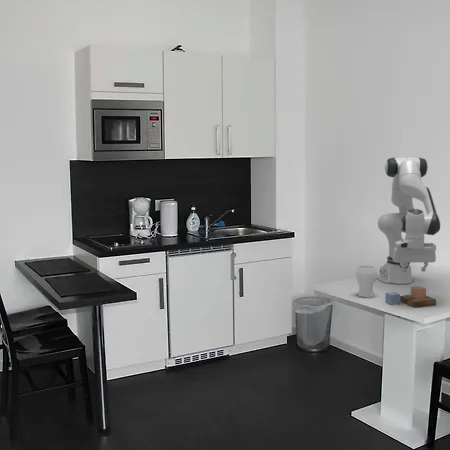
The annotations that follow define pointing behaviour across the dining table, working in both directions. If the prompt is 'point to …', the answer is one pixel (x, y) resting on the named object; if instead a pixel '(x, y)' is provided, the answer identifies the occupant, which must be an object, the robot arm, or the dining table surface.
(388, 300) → the blue block
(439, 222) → the robot arm
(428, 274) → the dining table surface
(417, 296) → the terracotta block
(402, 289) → the dining table surface
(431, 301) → the pedestal
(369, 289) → the cup
